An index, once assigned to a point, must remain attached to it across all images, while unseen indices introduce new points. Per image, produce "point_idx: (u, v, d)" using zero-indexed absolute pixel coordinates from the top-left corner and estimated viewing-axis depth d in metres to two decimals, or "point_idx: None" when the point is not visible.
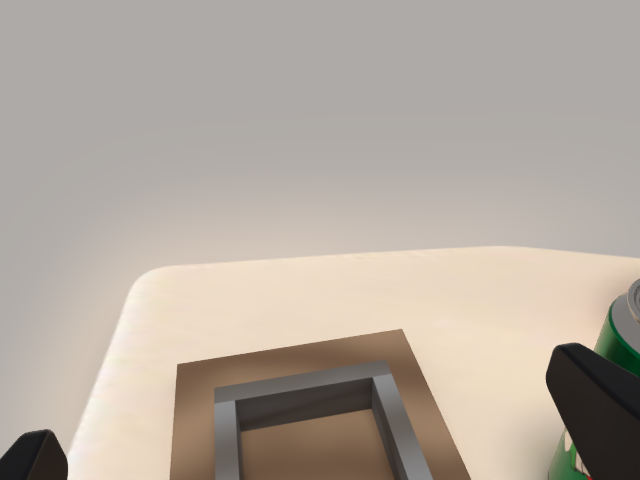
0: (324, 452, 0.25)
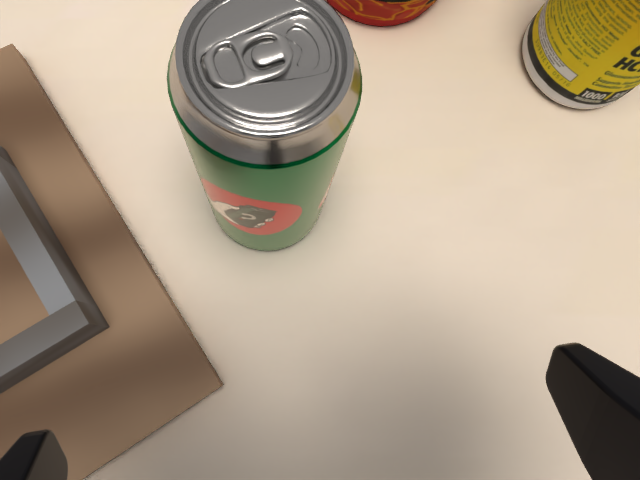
0: None
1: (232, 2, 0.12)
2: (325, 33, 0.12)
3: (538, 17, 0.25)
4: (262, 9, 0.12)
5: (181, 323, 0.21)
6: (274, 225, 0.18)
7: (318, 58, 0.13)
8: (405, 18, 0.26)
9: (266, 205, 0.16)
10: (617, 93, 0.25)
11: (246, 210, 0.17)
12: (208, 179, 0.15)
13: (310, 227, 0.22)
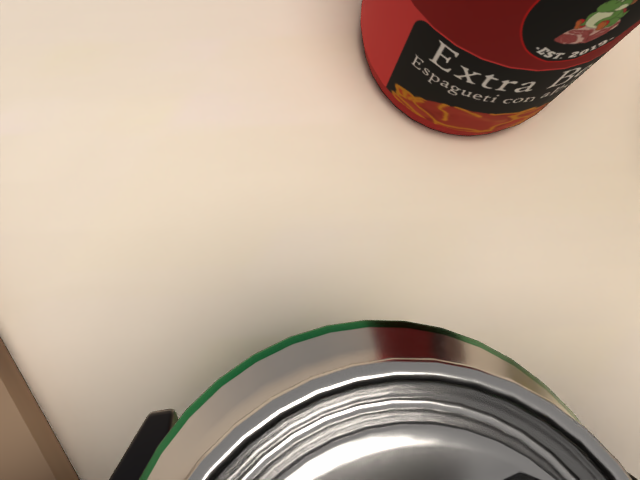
0: None
1: (303, 470, 0.04)
2: None
3: None
4: None
5: None
6: None
7: None
8: (507, 127, 0.17)
9: None
10: None
11: None
12: None
13: None
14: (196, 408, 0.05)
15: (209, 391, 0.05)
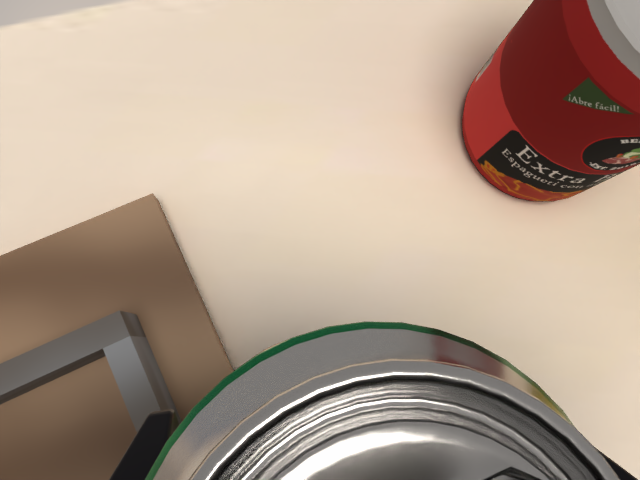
0: (67, 431, 0.20)
1: (305, 464, 0.04)
2: None
3: None
4: None
5: None
6: None
7: None
8: (559, 199, 0.24)
9: None
10: None
11: None
12: None
13: None
14: (203, 405, 0.05)
15: (215, 389, 0.05)
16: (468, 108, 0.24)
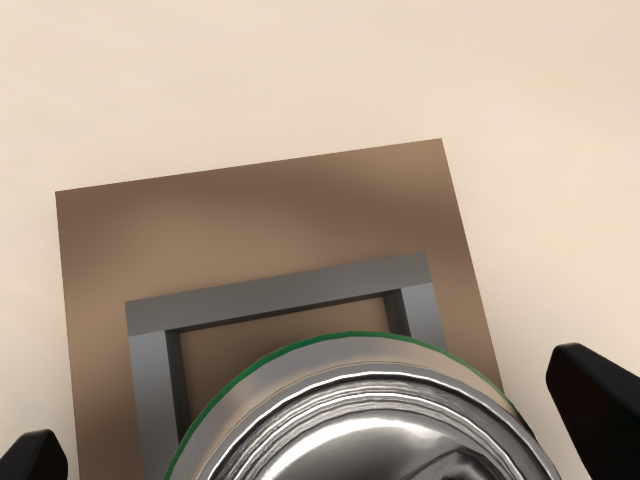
0: None
1: (301, 443, 0.05)
2: None
3: None
4: (372, 458, 0.05)
5: None
6: None
7: None
8: None
9: None
10: None
11: None
12: None
13: None
14: (218, 399, 0.06)
15: (228, 386, 0.06)
16: None
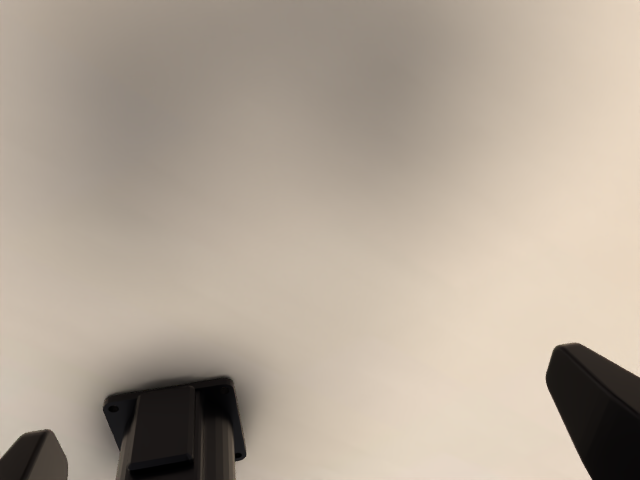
0: None
1: None
2: None
3: None
4: None
5: None
6: None
7: None
8: None
9: None
10: None
11: None
12: None
13: None
14: None
15: None
16: None
